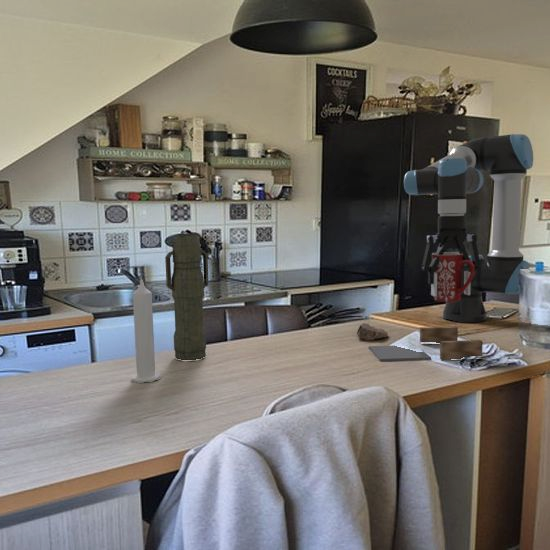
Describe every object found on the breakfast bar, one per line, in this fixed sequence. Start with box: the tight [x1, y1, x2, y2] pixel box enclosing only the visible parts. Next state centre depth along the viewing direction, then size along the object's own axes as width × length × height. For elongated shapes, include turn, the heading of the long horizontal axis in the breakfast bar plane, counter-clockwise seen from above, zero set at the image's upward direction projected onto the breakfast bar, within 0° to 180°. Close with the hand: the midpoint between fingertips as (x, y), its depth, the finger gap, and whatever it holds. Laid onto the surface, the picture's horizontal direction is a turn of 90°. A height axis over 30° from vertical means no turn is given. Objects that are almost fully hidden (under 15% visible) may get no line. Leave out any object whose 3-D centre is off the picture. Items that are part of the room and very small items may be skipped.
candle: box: [131, 279, 162, 384], centre depth 136 cm, size 7×7×25 cm
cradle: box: [419, 325, 484, 362], centre depth 158 cm, size 11×19×5 cm, turn 3°
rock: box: [356, 322, 389, 341], centre depth 176 cm, size 9×6×10 cm
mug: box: [431, 251, 475, 303], centre depth 156 cm, size 13×9×14 cm
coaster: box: [368, 345, 432, 362], centre depth 157 cm, size 14×14×1 cm
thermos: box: [165, 233, 209, 360], centre depth 155 cm, size 9×12×35 cm
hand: (450, 294), depth 157 cm, fingers closed on mug, 9 cm apart
